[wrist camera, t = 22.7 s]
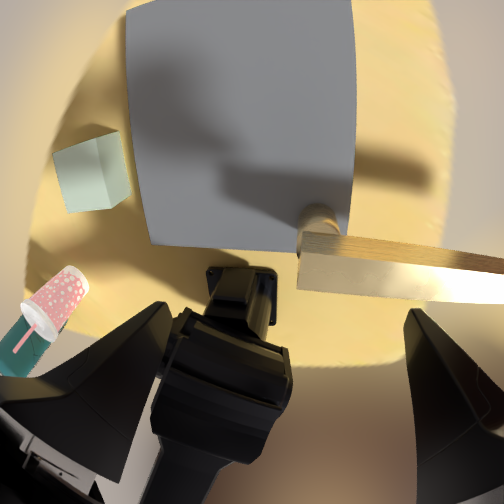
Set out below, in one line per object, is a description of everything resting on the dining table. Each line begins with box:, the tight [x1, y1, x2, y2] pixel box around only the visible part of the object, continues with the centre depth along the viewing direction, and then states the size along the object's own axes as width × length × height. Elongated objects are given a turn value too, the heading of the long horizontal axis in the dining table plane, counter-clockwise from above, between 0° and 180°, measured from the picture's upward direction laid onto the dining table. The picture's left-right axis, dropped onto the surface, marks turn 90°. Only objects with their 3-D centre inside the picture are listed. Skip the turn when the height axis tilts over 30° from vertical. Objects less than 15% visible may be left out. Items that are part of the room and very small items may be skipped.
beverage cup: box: [13, 265, 89, 354], centre depth 24 cm, size 6×6×14 cm
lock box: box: [126, 0, 357, 253], centre depth 16 cm, size 18×14×4 cm
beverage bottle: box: [0, 314, 68, 377], centre depth 26 cm, size 6×7×20 cm
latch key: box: [296, 203, 504, 304], centre depth 13 cm, size 17×2×6 cm, turn 89°
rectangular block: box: [52, 131, 132, 213], centre depth 20 cm, size 6×6×4 cm
